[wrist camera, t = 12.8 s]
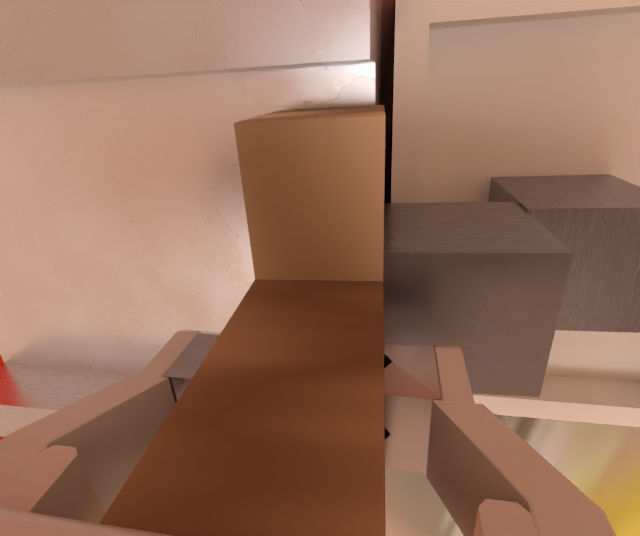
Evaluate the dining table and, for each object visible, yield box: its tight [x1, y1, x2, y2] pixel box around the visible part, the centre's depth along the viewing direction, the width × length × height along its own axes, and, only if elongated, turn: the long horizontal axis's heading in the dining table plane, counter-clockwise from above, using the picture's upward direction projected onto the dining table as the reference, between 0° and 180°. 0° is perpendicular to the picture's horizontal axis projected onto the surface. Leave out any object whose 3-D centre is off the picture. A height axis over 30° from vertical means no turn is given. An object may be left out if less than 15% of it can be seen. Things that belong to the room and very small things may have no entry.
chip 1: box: [383, 201, 574, 397], centre depth 11 cm, size 4×4×4 cm
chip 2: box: [488, 174, 640, 333], centre depth 13 cm, size 4×4×4 cm
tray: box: [391, 0, 640, 427], centre depth 15 cm, size 12×16×2 cm
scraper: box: [99, 105, 386, 536], centre depth 9 cm, size 3×10×10 cm, turn 3°
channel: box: [0, 0, 382, 437], centre depth 16 cm, size 18×16×6 cm
